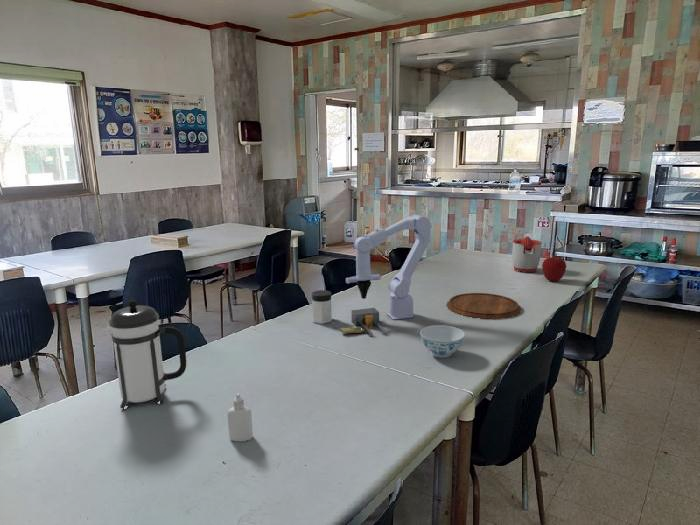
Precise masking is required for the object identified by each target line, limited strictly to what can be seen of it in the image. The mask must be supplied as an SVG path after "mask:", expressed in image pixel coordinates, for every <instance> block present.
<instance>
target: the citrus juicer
mask: <svg viewBox="0 0 700 525" xmlns="http://www.w3.org/2000/svg"><path fill="white" fill-rule="evenodd" d="M542 243H543V242H542V240H537V239H531V237H530V236H529V235H527V236H525V237H524V238H522V239H521V238H520V239H519V238H518V239H513V240H512V251H511V253H512V254H511V255H512V256H511V257H512V258H511V261H512V266H513V268H514V270H515V271H516V270H518V271H517V272H519V271H523V272H522V273H534V272H533V271H535V272H536V271H537V270H538V267H539V265H540V260H541V252H542V251H541V250H542Z"/></svg>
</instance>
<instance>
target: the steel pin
mask: <svg viewBox="0 0 700 525" xmlns="http://www.w3.org/2000/svg"><path fill="white" fill-rule="evenodd" d="M363 324H364V325H365V326H366V327H367V328H372V327H374V325H373V316H372V315H371V314H370V315H364V316H363Z"/></svg>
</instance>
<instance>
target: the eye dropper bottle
mask: <svg viewBox="0 0 700 525" xmlns="http://www.w3.org/2000/svg"><path fill="white" fill-rule="evenodd" d="M244 400H245V399H244V397H241V396H240V393H236V396H235V398H233V406H232V407H231V408H229V410H228V411H227V423H228V425H227V426H228V436H229V438H228V439H229V440H230V441H233V440H234V441H233V442H248V441H251V440H252V438H253V436H254V434H253V420H252V410H251V409H250V408H249V407H247V406H245V402H244ZM247 440H248V441H247Z"/></svg>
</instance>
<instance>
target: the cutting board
mask: <svg viewBox="0 0 700 525" xmlns="http://www.w3.org/2000/svg"><path fill="white" fill-rule="evenodd" d="M447 307H448V308H447ZM446 308H447V309H448V310H449V311H450V310H451V311H450V312H452V313H453V312H454V314H456V313H457V314H456V315H458V314H459V315H458V316H461V315H463V316H462V317H465V316H466V317H465V318H470V317H472V318H471V319H476V318H480V319H479V320H490V319H492V320H502V319H501V318H506V319H509V317H511V318H513V317H512V316H514V317H516V316H518V315H519V314H520V313H521V312H520V311H522V308H521V306H520V304H519V303H518V302H517V301H516V300H514V299H512V298H510V297H508V296H505V295H504V296H503V295H500V294H495V293H487V292H486V293H484V292H469V293H468V292H467V293H461V294H460V293H459V294H457V295H454V296H452V297H450V299H449V300H448V301H447V303H446ZM517 314H518V315H517ZM515 315H516V316H515Z"/></svg>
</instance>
